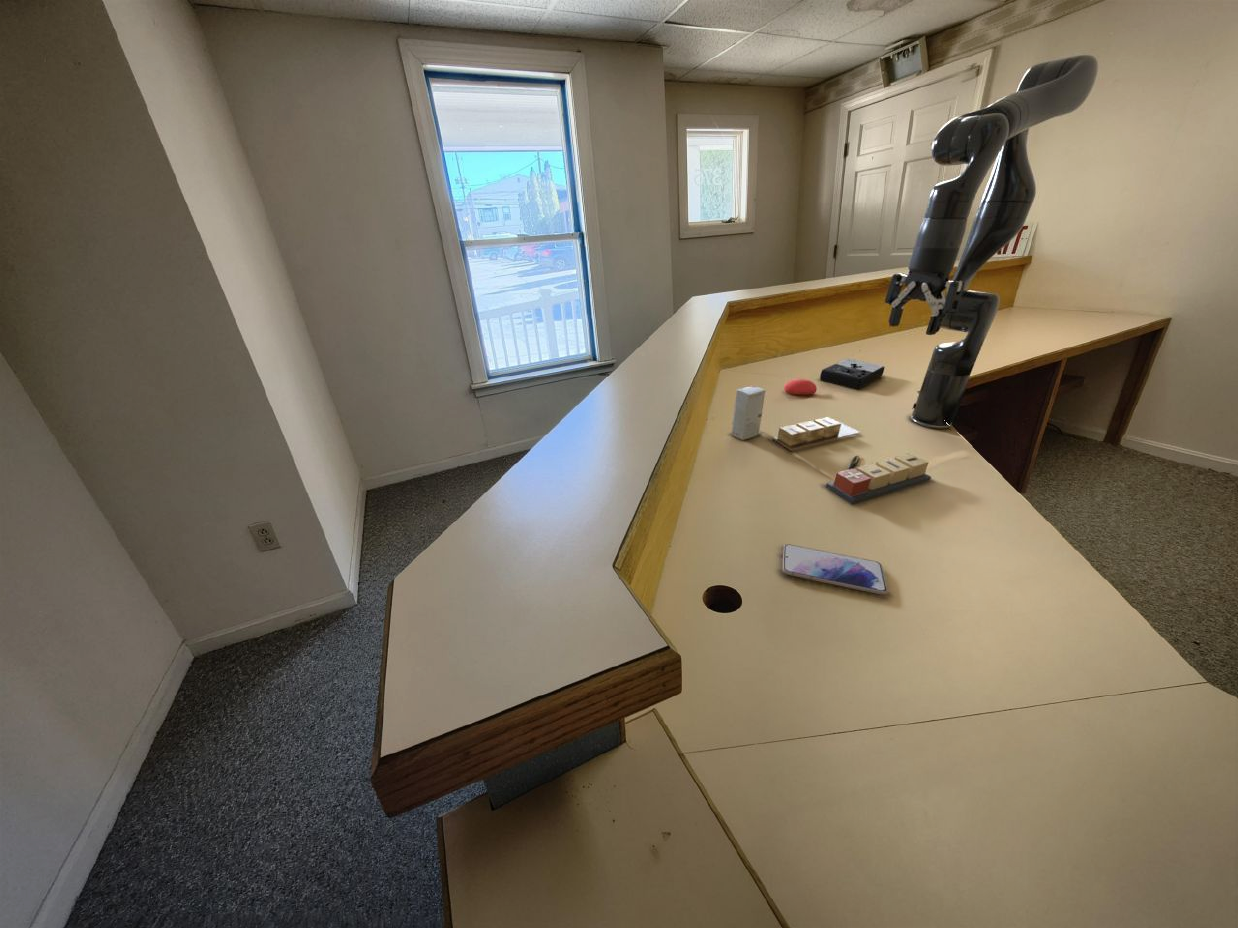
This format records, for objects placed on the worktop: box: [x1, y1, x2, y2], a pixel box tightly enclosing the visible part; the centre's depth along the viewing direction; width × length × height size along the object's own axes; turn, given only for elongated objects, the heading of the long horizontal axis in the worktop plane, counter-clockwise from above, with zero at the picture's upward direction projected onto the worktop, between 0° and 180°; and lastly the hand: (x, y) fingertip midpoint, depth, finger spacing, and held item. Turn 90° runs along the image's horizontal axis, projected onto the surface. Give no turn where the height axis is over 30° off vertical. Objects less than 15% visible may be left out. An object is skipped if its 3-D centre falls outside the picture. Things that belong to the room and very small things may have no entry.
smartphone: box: [782, 543, 888, 596], centre depth 72 cm, size 7×1×15 cm
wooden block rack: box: [825, 452, 932, 505], centre depth 94 cm, size 22×7×4 cm, turn 113°
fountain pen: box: [848, 454, 860, 469], centre depth 99 cm, size 14×1×2 cm, turn 145°
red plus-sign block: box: [833, 468, 871, 496], centre depth 91 cm, size 4×4×3 cm
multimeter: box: [819, 358, 886, 390], centre depth 152 cm, size 13×19×5 cm
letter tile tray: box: [771, 416, 861, 453], centre depth 113 cm, size 22×7×4 cm, turn 113°
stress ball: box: [783, 378, 818, 396], centre depth 140 cm, size 5×9×6 cm
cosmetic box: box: [731, 385, 766, 441], centre depth 113 cm, size 6×4×12 cm
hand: (911, 330), depth 95 cm, fingers open, 8 cm apart
